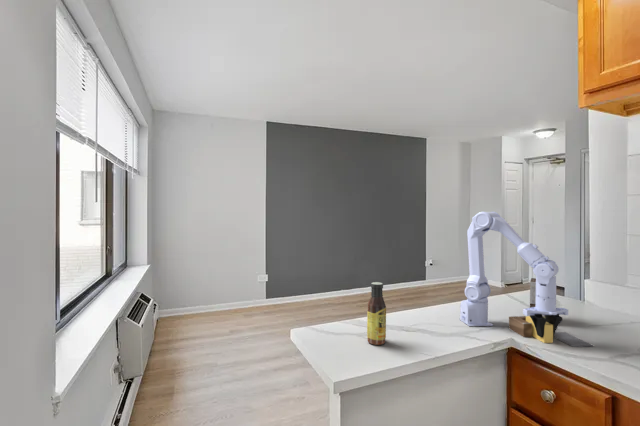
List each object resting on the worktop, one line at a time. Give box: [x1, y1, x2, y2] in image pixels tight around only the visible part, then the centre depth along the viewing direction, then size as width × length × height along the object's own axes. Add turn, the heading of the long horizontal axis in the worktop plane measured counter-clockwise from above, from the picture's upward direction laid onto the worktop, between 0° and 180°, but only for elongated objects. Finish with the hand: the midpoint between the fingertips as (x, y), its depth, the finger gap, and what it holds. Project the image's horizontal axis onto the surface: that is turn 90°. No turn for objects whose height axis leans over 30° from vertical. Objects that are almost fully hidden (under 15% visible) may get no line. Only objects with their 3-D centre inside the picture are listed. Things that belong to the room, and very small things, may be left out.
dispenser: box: [508, 315, 533, 338], centre depth 116 cm, size 10×8×5 cm
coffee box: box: [529, 277, 546, 319], centre depth 129 cm, size 9×6×16 cm
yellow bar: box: [525, 315, 554, 344], centre depth 112 cm, size 3×9×6 cm, turn 3°
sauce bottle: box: [366, 281, 387, 346], centre depth 108 cm, size 6×6×20 cm
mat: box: [553, 331, 594, 348], centre depth 110 cm, size 7×11×1 cm, turn 3°
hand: (545, 336), depth 109 cm, fingers closed on yellow bar, 3 cm apart
